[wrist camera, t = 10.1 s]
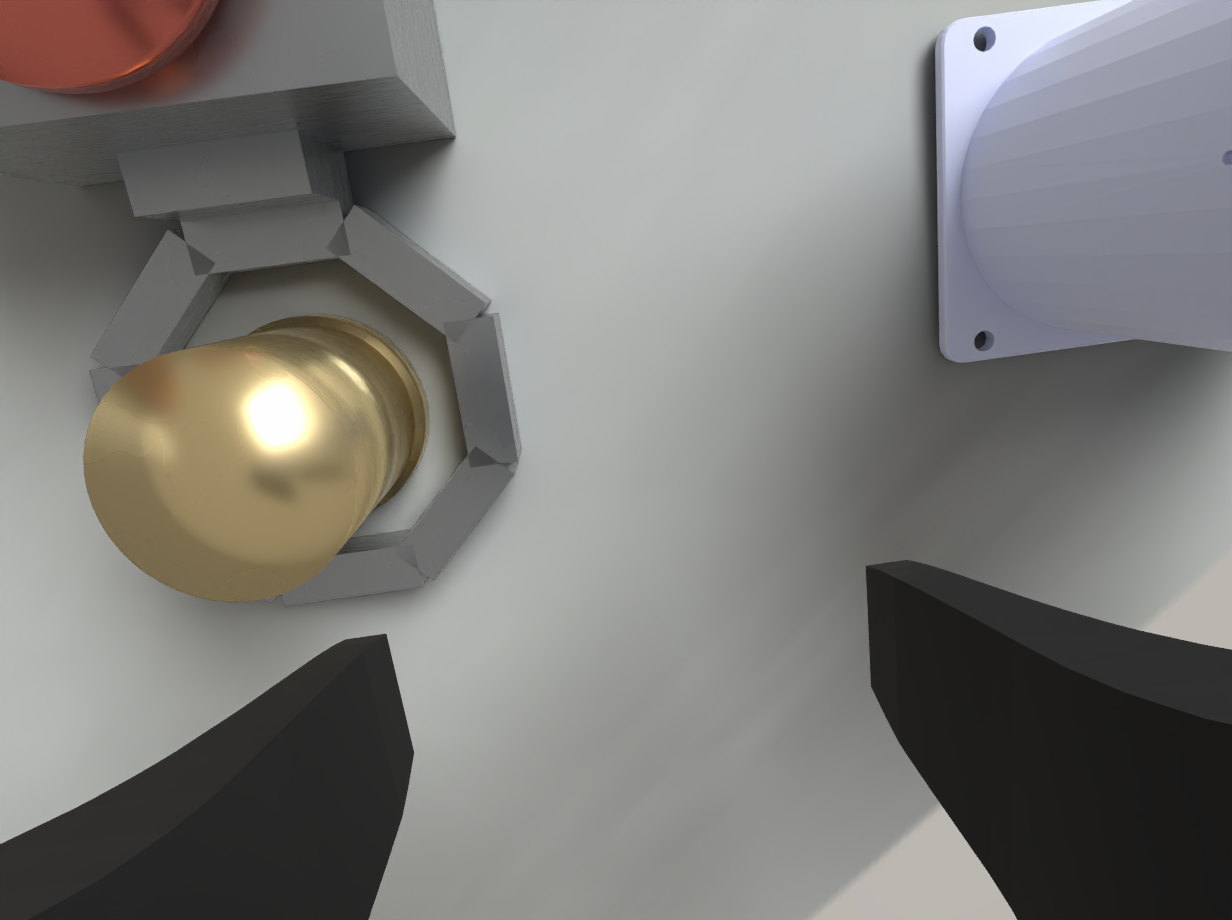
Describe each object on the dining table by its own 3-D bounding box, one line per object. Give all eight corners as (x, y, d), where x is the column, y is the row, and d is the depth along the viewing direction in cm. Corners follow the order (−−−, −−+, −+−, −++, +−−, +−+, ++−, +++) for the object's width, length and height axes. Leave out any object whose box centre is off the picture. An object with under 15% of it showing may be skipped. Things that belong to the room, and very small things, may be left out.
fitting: (415, 307, 19) (343, 326, 13) (441, 502, 20) (386, 600, 14) (206, 321, 19) (38, 347, 13) (246, 518, 20) (109, 622, 14)
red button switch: (390, -332, 15) (243, -800, 9) (538, 553, 20) (520, 696, 14) (-77, -274, 15) (-601, -706, 8) (192, 602, 20) (0, 770, 14)
